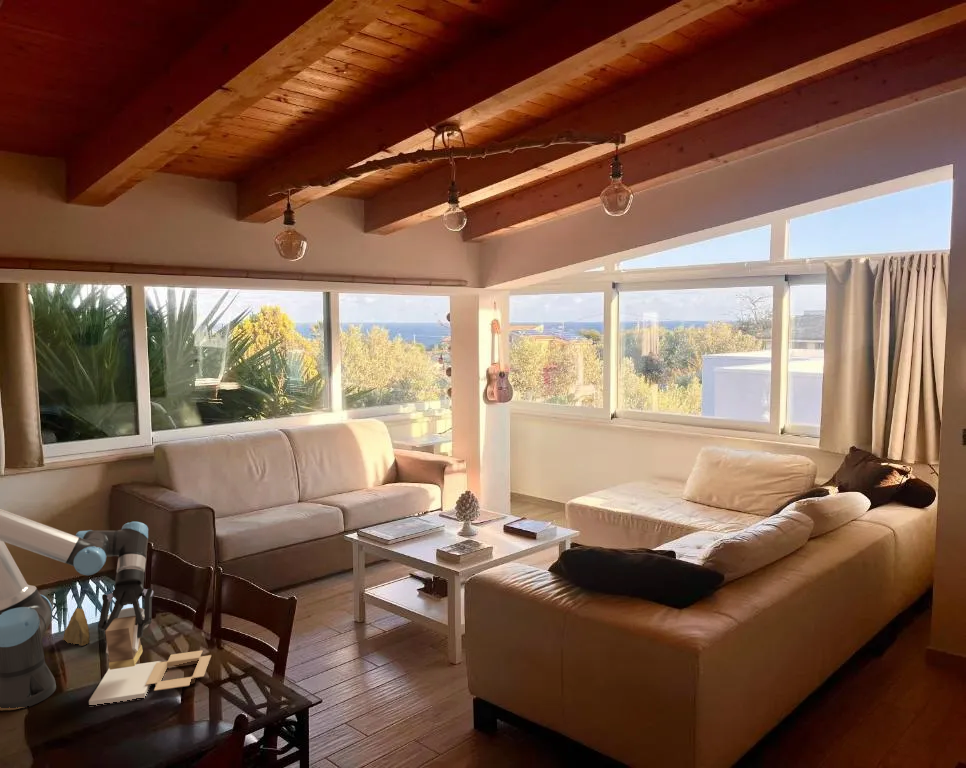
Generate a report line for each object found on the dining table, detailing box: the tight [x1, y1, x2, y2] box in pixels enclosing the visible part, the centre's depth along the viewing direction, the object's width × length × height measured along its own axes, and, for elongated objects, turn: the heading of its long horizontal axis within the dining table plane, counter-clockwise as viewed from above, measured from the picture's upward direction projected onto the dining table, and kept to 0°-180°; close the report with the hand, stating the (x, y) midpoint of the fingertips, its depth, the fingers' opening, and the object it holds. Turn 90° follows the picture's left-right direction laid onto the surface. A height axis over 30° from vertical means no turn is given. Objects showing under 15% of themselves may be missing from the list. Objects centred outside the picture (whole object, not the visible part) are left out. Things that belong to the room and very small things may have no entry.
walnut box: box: [104, 616, 143, 670], centre depth 207 cm, size 6×8×11 cm
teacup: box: [107, 607, 150, 630], centre depth 238 cm, size 14×11×8 cm
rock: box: [62, 607, 91, 646], centre depth 237 cm, size 11×9×10 cm
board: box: [88, 660, 161, 706], centre depth 208 cm, size 14×18×2 cm
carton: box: [146, 650, 212, 691], centre depth 212 cm, size 15×20×2 cm
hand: (122, 651), depth 205 cm, fingers closed on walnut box, 6 cm apart
